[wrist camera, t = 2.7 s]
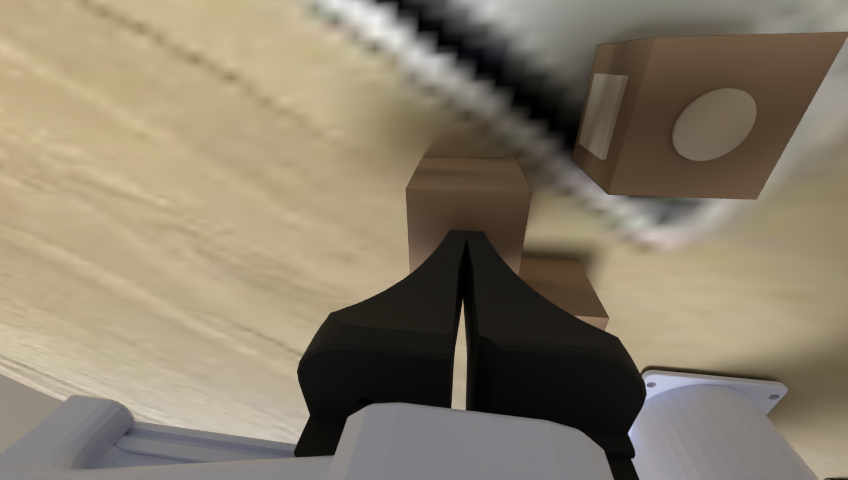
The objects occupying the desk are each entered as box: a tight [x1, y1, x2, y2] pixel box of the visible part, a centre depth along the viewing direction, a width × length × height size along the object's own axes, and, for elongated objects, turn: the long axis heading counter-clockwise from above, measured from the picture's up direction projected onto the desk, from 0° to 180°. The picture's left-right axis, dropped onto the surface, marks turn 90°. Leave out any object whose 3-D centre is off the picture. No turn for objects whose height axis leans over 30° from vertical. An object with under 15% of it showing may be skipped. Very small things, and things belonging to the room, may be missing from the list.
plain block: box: [406, 157, 532, 275], centre depth 14 cm, size 4×4×4 cm
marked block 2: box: [518, 257, 609, 331], centre depth 16 cm, size 4×5×5 cm
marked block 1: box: [572, 32, 848, 199], centre depth 11 cm, size 4×5×5 cm
